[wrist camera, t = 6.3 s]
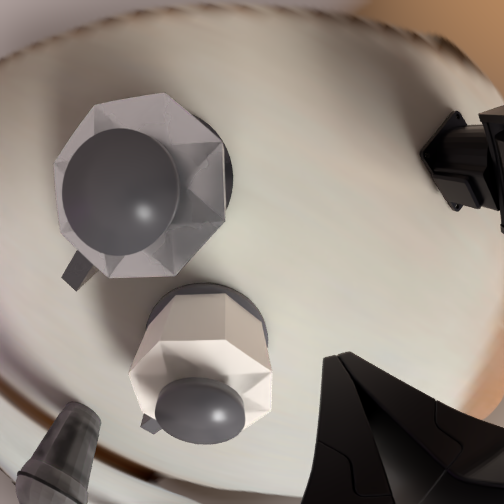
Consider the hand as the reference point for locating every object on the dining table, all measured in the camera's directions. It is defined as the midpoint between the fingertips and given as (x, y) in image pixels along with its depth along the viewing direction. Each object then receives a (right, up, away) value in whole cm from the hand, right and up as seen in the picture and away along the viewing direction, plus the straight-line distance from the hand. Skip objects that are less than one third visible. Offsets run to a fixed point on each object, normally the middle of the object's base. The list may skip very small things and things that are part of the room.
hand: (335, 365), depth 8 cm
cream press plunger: (-6, -4, +12) cm, 14 cm away
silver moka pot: (-9, +7, +10) cm, 16 cm away
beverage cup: (-21, -15, +16) cm, 31 cm away
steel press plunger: (-8, +7, +8) cm, 14 cm away
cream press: (-7, -4, +14) cm, 16 cm away
